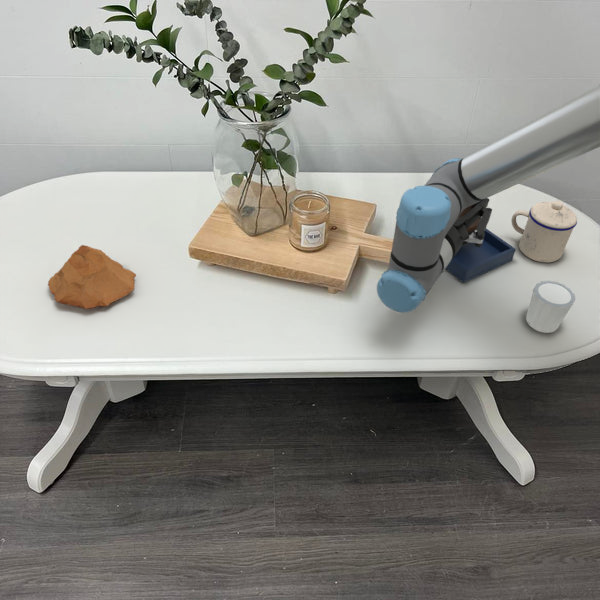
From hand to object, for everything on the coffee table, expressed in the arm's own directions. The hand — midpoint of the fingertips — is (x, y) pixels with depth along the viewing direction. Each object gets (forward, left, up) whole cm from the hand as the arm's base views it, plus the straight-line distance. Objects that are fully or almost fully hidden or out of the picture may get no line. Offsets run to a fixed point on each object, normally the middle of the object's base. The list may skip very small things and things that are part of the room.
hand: (479, 189), depth 115 cm
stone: (+24, +73, -12) cm, 78 cm away
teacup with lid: (-10, -9, -12) cm, 18 cm away
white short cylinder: (-26, +7, -12) cm, 30 cm away
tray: (-2, +5, -11) cm, 13 cm away
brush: (-2, +5, -8) cm, 10 cm away
